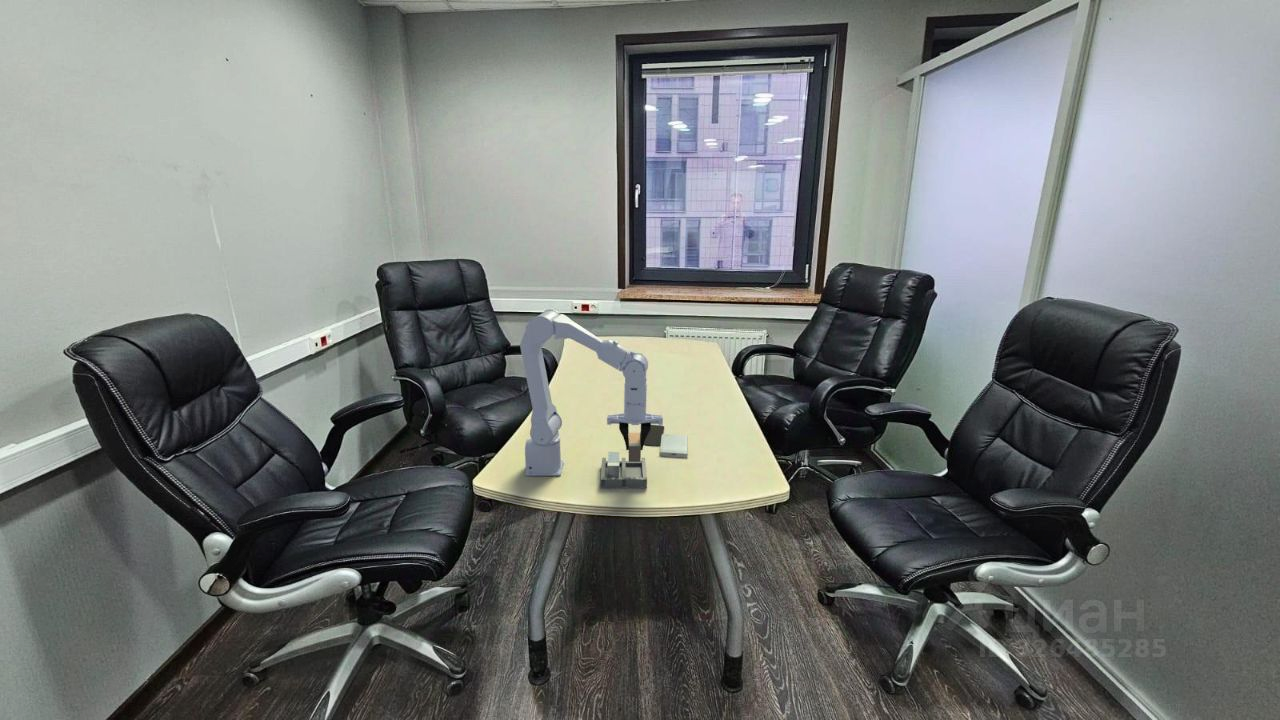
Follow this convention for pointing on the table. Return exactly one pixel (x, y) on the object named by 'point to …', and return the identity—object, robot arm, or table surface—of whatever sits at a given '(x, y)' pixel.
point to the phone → (654, 436)
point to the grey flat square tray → (625, 475)
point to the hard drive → (674, 445)
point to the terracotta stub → (634, 447)
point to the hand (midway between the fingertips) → (634, 448)
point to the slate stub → (613, 465)
